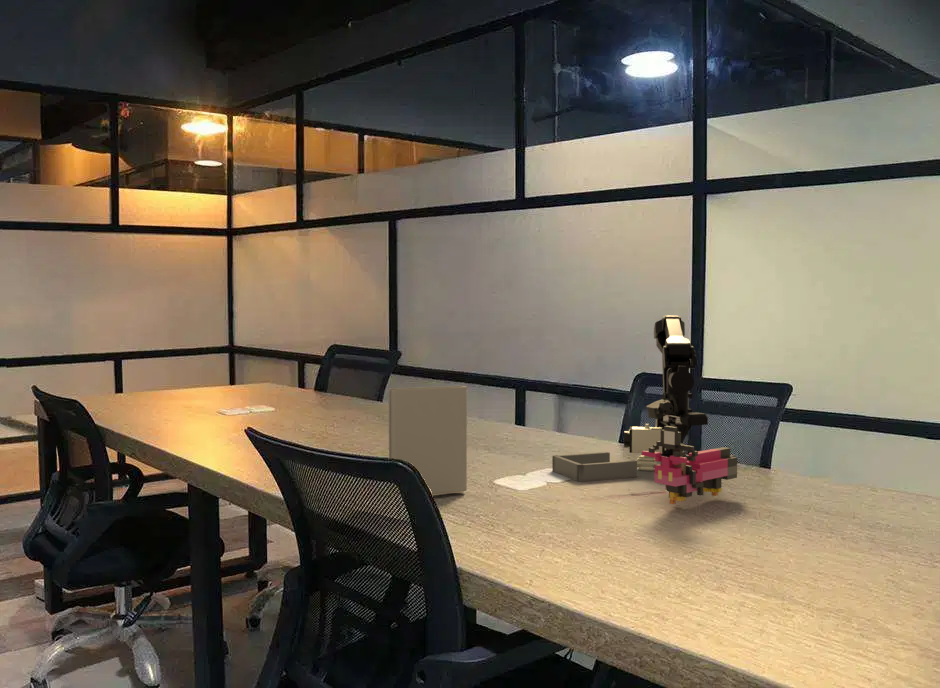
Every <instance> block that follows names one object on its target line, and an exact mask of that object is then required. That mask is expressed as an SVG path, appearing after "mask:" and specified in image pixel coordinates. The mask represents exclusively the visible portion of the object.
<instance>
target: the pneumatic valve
mask: <svg viewBox="0 0 940 688" xmlns="http://www.w3.org/2000/svg"><path fill="white" fill-rule="evenodd" d="M661 430H664V428H663V427H655V426H654V427H653V426H650V424H649V423H645V426H629V429H628V430H624V431H623V448H624V449H625V448H626V449H628V450H629V453H630V454H640V456H638V458H636V461H637V468H638V470H640V471H644V472H646V471H647V472H654V471H655V465H658V461H655V458H654V457H648V456H643V455H642V451H649V448H653V445H656V441H661ZM666 449H669V448H664V447H662V446H659V450H656V451H657V452H661V454H665V450H666Z"/></svg>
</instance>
